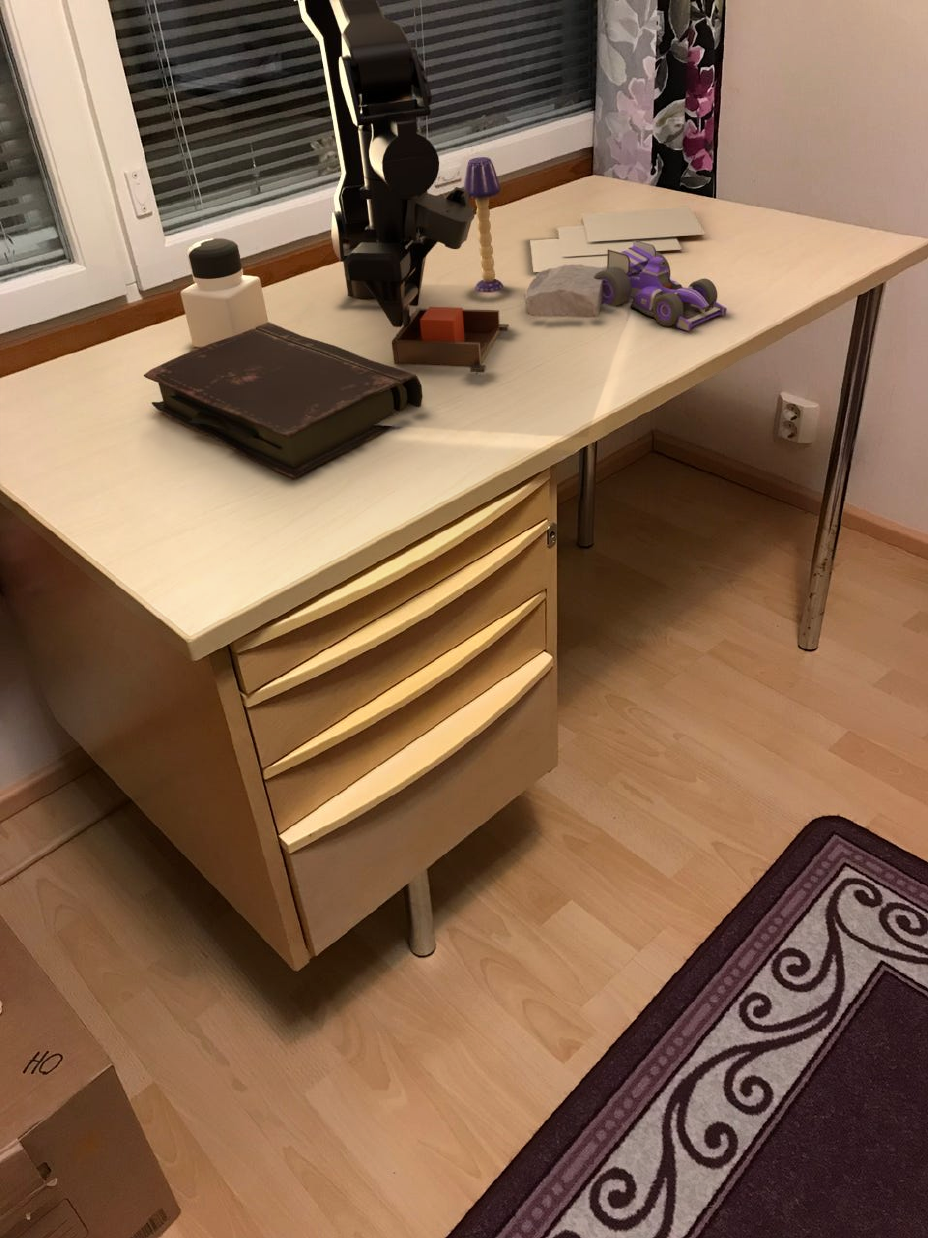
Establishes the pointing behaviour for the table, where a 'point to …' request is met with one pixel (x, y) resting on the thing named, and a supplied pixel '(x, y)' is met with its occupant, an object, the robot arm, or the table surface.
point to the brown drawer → (473, 351)
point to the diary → (283, 396)
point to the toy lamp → (483, 215)
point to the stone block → (566, 292)
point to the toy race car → (656, 287)
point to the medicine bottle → (220, 293)
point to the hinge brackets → (483, 367)
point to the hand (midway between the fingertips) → (405, 315)
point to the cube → (442, 324)
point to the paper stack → (614, 236)
